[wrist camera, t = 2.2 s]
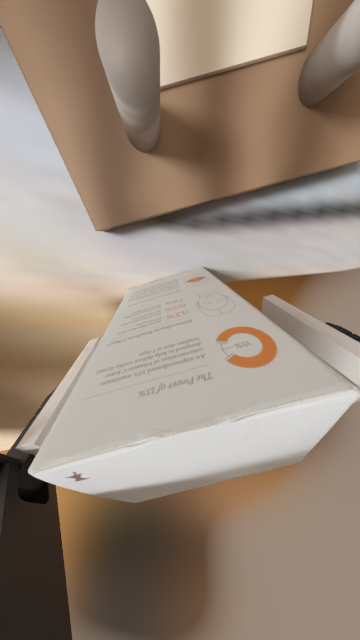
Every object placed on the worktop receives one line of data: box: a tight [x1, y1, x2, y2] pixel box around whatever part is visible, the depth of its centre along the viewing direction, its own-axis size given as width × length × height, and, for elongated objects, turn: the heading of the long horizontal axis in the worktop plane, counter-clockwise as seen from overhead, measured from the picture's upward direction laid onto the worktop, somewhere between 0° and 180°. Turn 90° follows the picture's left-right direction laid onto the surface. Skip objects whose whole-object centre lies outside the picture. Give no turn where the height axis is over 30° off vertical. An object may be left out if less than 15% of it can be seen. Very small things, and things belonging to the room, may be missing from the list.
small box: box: [28, 267, 360, 503], centre depth 10 cm, size 8×6×13 cm
